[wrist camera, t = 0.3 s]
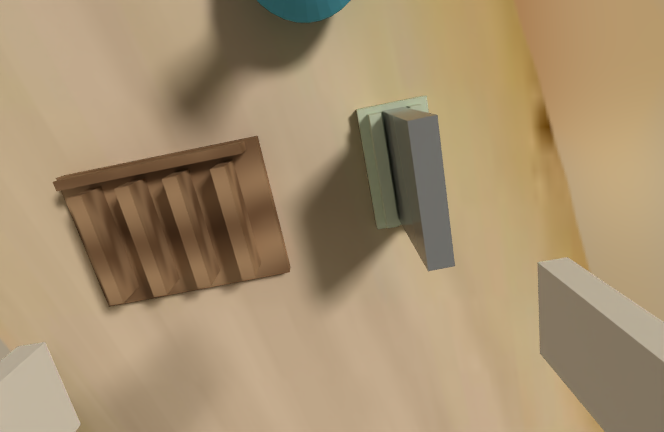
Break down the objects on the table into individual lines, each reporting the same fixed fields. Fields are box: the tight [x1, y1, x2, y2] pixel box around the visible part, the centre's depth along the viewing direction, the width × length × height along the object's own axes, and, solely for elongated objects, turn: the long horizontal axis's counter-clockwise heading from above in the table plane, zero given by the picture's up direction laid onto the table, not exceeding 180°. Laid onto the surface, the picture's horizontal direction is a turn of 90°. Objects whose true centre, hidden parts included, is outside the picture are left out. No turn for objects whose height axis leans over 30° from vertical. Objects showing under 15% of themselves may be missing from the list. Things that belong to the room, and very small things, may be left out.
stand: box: [356, 96, 429, 229], centre depth 36 cm, size 11×6×3 cm, turn 11°
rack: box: [53, 136, 290, 307], centre depth 36 cm, size 13×18×4 cm
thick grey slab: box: [382, 107, 455, 271], centre depth 31 cm, size 10×2×11 cm, turn 11°
